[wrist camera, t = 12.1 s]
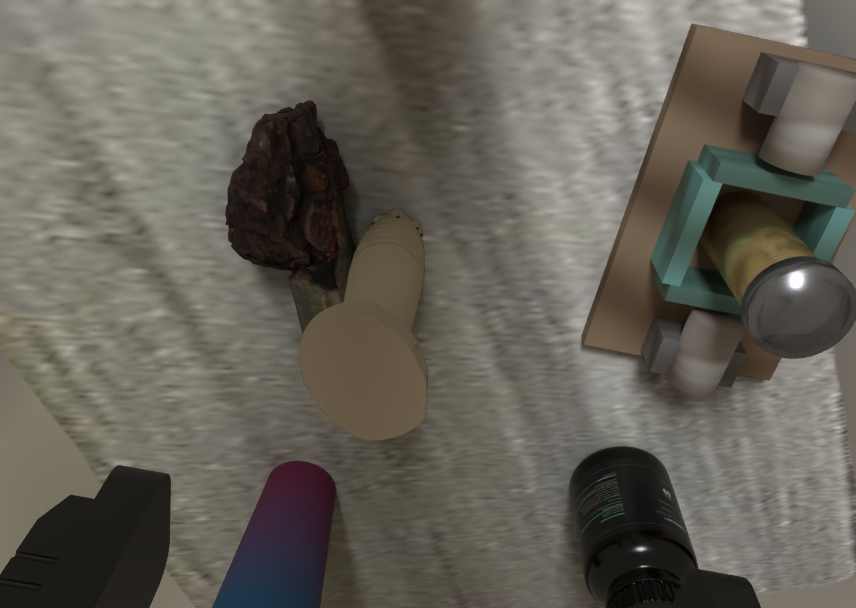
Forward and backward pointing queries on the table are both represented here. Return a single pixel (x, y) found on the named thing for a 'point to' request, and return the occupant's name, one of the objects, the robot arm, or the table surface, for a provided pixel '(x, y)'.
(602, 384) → the table surface
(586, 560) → the supplement bottle
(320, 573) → the cup
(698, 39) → the shaft bench
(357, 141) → the table surface
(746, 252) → the cylinder
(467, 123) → the table surface
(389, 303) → the handle
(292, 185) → the dark brown elongated piece
